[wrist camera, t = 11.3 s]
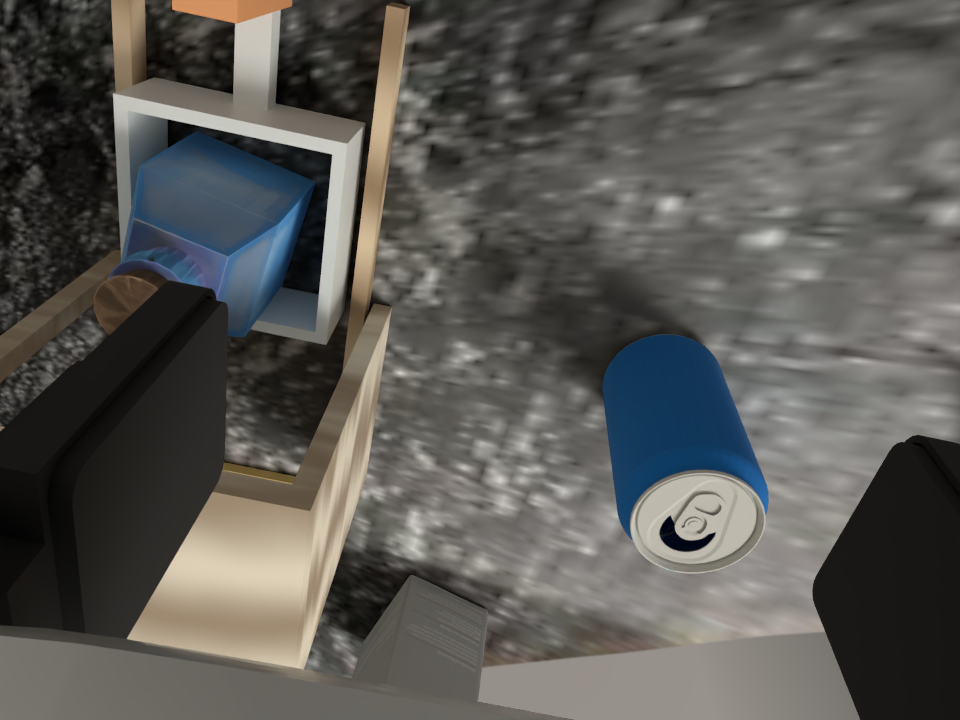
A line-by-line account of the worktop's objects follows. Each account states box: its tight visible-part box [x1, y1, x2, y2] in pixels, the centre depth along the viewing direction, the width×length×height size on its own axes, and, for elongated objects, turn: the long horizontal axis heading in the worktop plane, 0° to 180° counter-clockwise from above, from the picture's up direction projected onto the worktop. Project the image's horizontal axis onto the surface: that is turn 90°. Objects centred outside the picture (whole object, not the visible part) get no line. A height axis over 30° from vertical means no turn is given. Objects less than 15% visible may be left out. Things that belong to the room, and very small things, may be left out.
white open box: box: [113, 0, 366, 345], centre depth 34 cm, size 18×10×7 cm, turn 169°
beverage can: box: [603, 334, 768, 573], centre depth 37 cm, size 6×6×12 cm
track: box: [111, 0, 410, 373], centre depth 40 cm, size 28×13×2 cm, turn 169°
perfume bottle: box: [94, 131, 316, 337], centre depth 34 cm, size 6×6×12 cm
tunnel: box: [0, 249, 392, 669], centre depth 37 cm, size 12×15×17 cm
